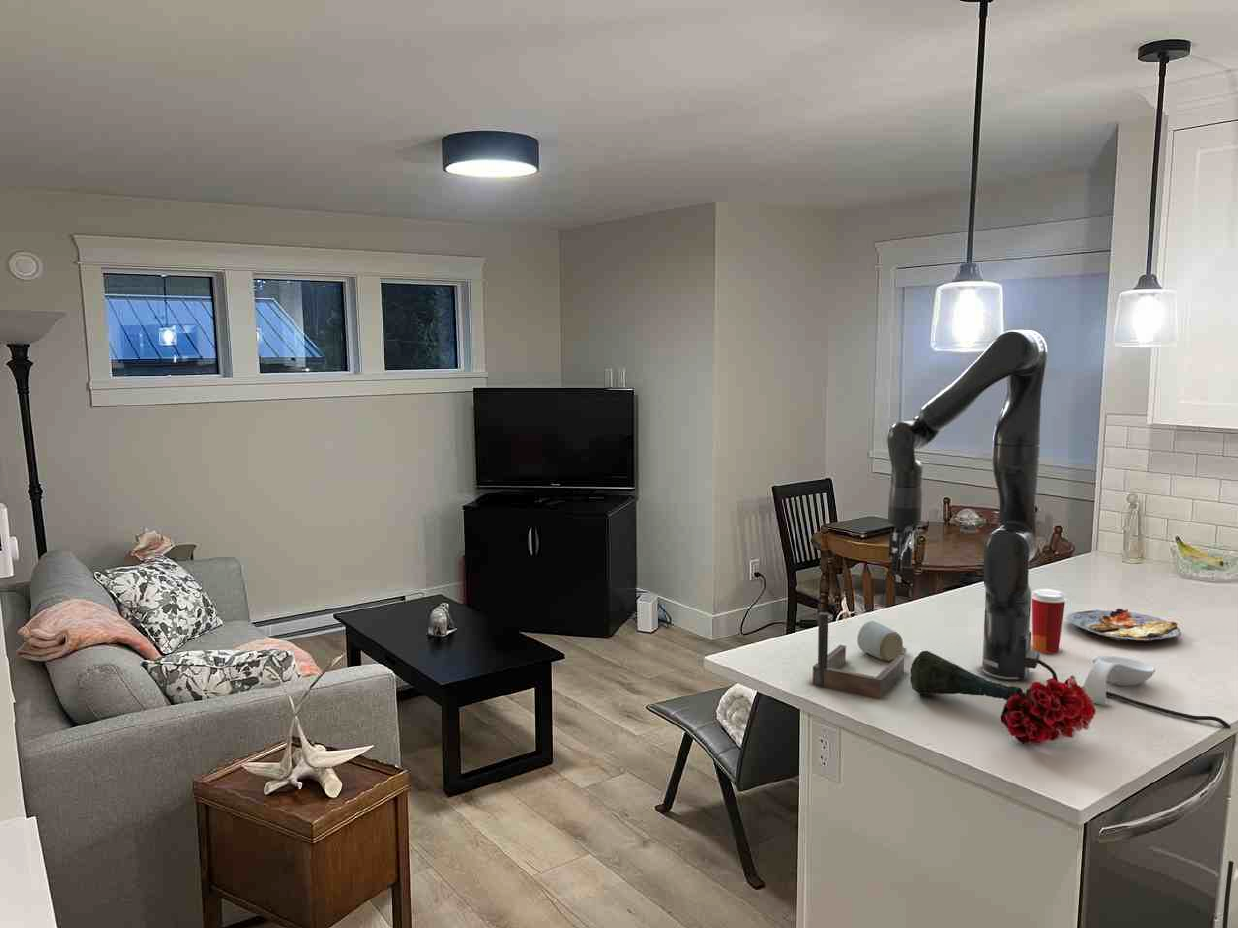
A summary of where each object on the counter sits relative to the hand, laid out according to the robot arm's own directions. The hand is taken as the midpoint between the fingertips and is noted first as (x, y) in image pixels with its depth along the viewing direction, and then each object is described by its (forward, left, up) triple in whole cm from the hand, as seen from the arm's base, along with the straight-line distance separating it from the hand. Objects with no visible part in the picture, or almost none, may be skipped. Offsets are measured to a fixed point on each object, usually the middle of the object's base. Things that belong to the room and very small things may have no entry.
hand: (901, 570), depth 216 cm
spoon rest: (-46, +3, -19) cm, 50 cm away
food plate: (-44, -39, -19) cm, 62 cm away
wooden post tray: (+1, +27, -19) cm, 33 cm away
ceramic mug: (+1, +9, -19) cm, 21 cm away
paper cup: (-30, -15, -19) cm, 39 cm away
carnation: (-29, +34, -19) cm, 48 cm away
